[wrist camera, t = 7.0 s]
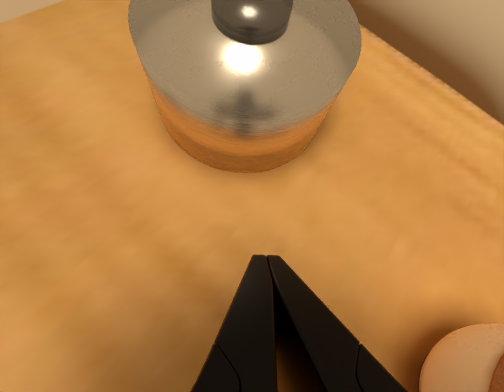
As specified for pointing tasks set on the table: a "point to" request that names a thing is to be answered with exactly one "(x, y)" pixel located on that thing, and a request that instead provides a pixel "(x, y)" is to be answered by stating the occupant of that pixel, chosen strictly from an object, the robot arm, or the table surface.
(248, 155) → the cover
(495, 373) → the lidded jar
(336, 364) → the robot arm
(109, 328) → the table surface
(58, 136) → the table surface
